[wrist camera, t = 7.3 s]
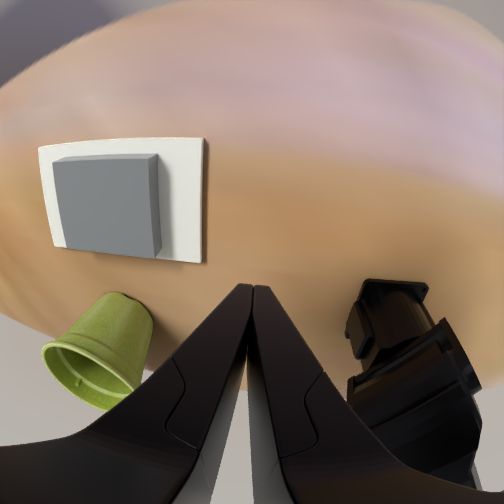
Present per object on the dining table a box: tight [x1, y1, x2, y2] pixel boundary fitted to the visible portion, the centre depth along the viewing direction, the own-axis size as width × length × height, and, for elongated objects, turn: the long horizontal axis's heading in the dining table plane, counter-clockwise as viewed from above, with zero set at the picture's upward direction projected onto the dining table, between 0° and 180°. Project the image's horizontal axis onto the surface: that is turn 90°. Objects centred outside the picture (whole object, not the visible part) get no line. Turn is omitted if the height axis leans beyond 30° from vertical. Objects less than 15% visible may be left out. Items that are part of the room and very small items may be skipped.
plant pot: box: [41, 292, 153, 412], centre depth 22 cm, size 9×9×9 cm
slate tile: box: [52, 154, 162, 259], centre depth 18 cm, size 2×7×8 cm
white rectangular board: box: [38, 137, 204, 263], centre depth 19 cm, size 14×9×1 cm, turn 85°
